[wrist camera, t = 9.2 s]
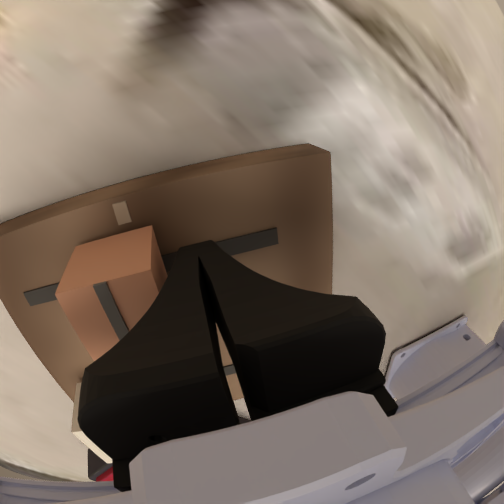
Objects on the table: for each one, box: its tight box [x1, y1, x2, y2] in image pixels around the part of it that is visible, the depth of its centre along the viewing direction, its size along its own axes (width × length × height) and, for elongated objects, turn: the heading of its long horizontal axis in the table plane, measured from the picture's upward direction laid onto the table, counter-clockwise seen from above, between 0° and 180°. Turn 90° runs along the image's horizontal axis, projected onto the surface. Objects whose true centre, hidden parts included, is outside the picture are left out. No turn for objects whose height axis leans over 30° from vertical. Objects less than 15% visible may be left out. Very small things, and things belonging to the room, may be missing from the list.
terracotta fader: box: [55, 225, 168, 361], centre depth 10 cm, size 3×4×3 cm
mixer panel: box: [0, 143, 333, 402], centre depth 14 cm, size 15×13×2 cm
